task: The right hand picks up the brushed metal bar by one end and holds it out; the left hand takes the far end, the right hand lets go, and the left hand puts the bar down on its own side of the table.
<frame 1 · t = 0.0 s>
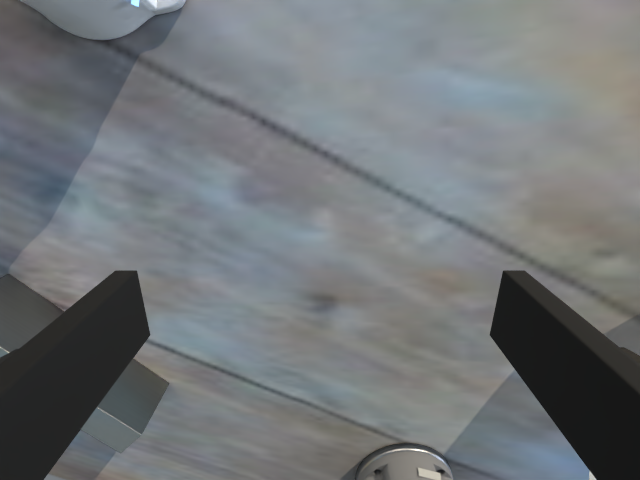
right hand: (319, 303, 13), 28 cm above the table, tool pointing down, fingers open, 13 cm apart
bar: (85, 341, 47), on the table
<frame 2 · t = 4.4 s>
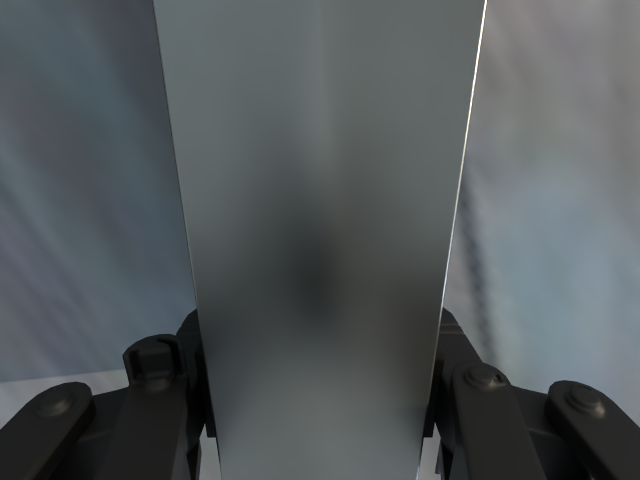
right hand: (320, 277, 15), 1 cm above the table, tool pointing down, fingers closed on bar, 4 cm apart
bar: (319, 52, 12), on the table, touching right hand
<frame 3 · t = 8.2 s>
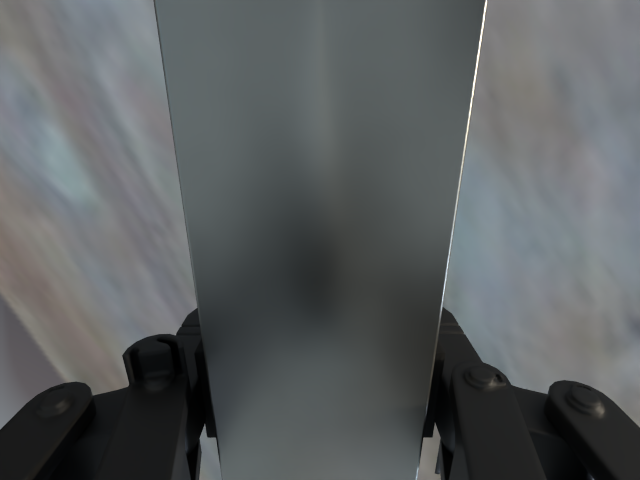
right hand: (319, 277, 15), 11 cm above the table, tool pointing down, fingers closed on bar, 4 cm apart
bar: (320, 51, 12), point 10 cm above the table, touching right hand, left hand
when the right hand's fingers open (11 cm above the table, at t = 8.9 s): bar stays where it is, held by the left hand.
when the left hand's fingers open (5 cm above the table, at t = 14.1 s): bar drops 1 cm, on the table.
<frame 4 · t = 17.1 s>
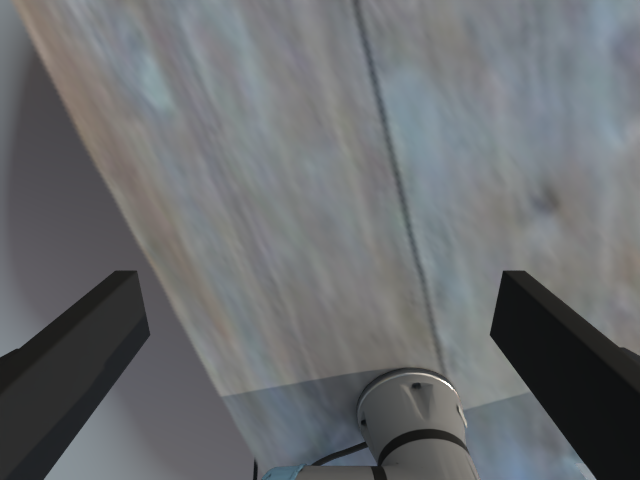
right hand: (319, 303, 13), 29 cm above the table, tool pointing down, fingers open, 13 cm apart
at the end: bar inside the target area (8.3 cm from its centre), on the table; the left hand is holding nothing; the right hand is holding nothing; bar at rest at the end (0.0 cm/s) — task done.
